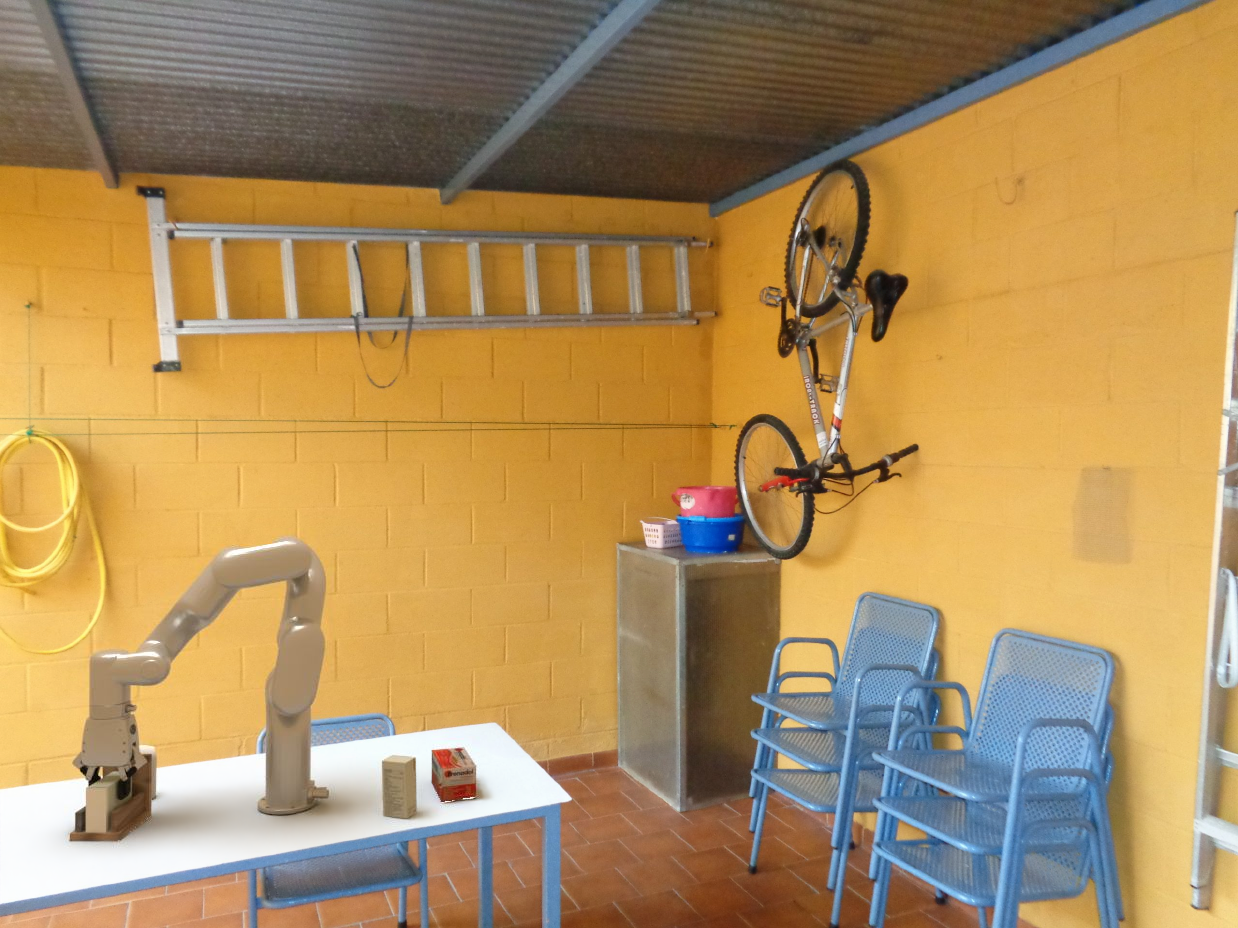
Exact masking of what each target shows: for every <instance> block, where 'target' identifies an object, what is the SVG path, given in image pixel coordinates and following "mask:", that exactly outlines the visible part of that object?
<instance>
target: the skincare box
mask: <svg viewBox="0 0 1238 928" xmlns="http://www.w3.org/2000/svg"><path fill="white" fill-rule="evenodd" d="M381 771H382V772H381V778H382V779H381V780H382V816H383V815H384V816H383V817H390V816H391V818H399V819H409V818H410V817H411V816H413V815H414V814H416V813H418V811H417V810H418V809H417V808H418V805H417V804H418V803H417V801H418V799H417V757H416V756H407V755H398V754H397V755H396V754H395V755H394V754H392V755H389V756H388V757H386V758H384V759H382V760H381Z"/></svg>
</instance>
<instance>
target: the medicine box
mask: <svg viewBox="0 0 1238 928" xmlns="http://www.w3.org/2000/svg"><path fill="white" fill-rule="evenodd" d="M431 783H432V784H431V785H432V786H433V788H434V791H435V792H437V793H436V795H437V794H438V795H437V797H438V796H439V797H438V798H440V799H439V801H440V800H441V801H440V803H441V802H445V801H452V800H456V801H459V800H458V799H463V798H470V797H475V796H476V797H477V765H476V763H475V762H474V760H473V758H472V757H471V756H470V754H469V753H468V751H467V750H466V748H465V747H463V746H462V747H450V748H441V749H431Z"/></svg>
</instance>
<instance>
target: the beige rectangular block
mask: <svg viewBox="0 0 1238 928" xmlns="http://www.w3.org/2000/svg"><path fill="white" fill-rule="evenodd" d="M120 780H121V777H120V773H119V771H113V772H111V773H110V774H108V775H107V776H105V777H103V776H102V777H101V779H100V780H99V781H97V782H95V783H94V784H92V785H90V786H89V787H88V786H87V787H86V788H85V806H86V833H106V832H108V831H109V830H110V829H111V813H112V812H113V811H114V810H116V809H117V808H119V807H120V806H121V805H123V804H124V803H126V802H127V801H129V800H130V799H131V798H132V776H131V791H130V793H129V796H127V797H126V798H124V799H123V800H119V799H118V782H119V781H120Z"/></svg>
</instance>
